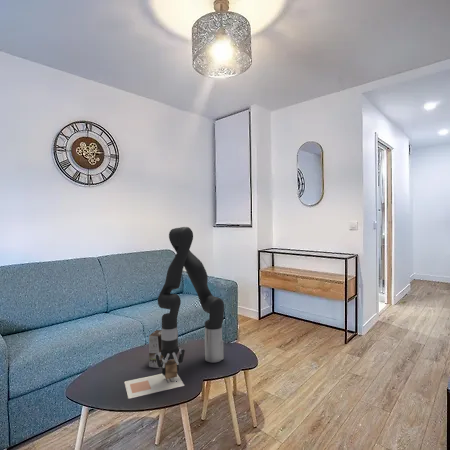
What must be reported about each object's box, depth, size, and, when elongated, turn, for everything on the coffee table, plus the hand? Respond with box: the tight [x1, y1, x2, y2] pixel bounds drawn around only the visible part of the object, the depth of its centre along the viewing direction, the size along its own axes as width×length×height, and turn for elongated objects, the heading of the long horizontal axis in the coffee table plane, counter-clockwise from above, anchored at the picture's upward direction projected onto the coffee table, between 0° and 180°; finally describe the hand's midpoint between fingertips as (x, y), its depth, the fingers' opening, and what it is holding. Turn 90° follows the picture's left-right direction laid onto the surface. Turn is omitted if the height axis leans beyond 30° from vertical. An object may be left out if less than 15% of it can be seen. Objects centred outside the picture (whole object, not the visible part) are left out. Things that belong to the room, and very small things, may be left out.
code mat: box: [124, 373, 185, 399], centre depth 135 cm, size 24×15×1 cm, turn 115°
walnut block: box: [165, 359, 178, 379], centre depth 138 cm, size 5×5×6 cm
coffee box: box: [148, 329, 163, 369], centre depth 155 cm, size 9×6×16 cm
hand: (170, 373), depth 138 cm, fingers closed on walnut block, 5 cm apart
